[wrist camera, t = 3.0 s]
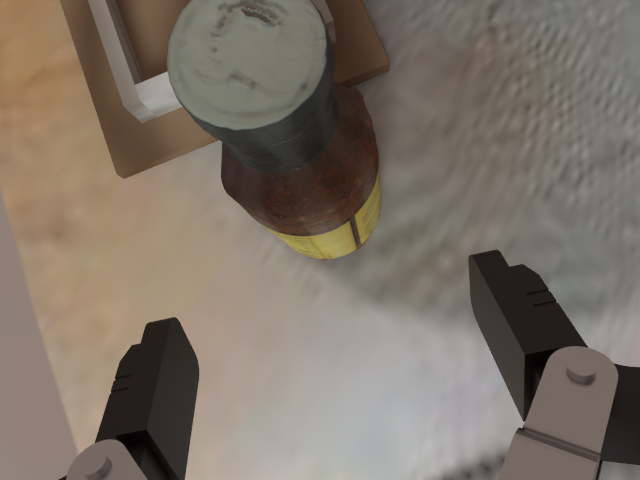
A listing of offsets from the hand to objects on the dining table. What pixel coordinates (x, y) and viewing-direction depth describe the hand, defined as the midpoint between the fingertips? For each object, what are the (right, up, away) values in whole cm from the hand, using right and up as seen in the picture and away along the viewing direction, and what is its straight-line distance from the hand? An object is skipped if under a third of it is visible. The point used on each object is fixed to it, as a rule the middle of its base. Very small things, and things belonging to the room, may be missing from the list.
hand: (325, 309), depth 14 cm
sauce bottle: (0, +3, +18) cm, 18 cm away
